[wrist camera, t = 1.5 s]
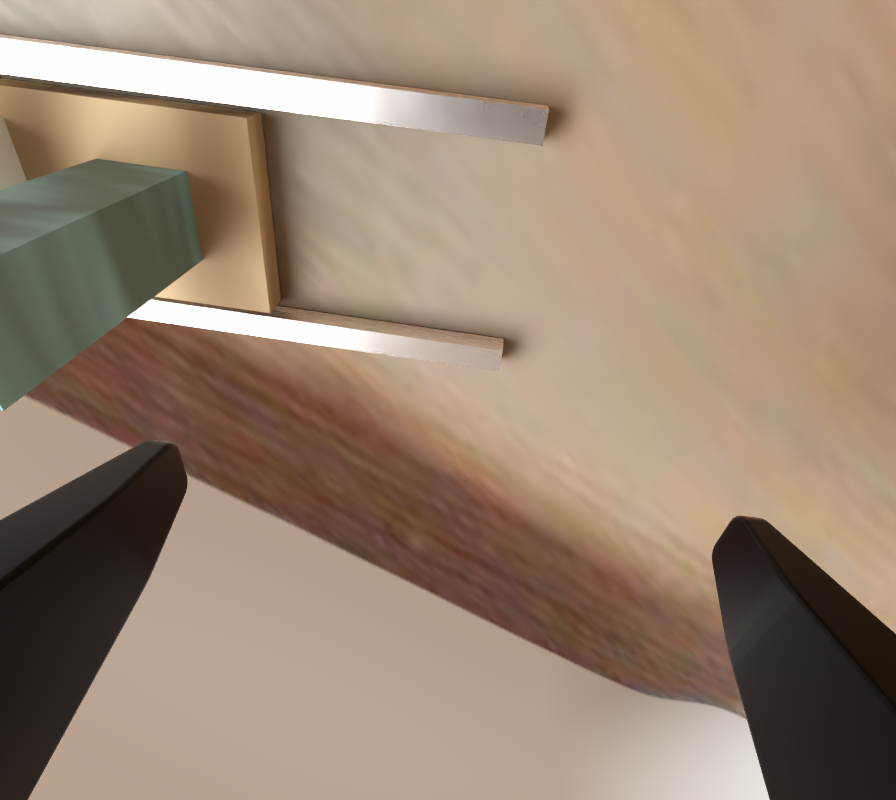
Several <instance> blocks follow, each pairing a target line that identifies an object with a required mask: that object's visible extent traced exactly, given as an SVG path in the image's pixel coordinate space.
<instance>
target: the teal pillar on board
mask: <svg viewBox="0 0 896 800" xmlns="http://www.w3.org/2000/svg"><path fill="white" fill-rule="evenodd" d="M0 117H1V118H4V121H5V123H6V126H7V129H8V131H9V134H10V137H11V140H12V142H13V145H14V148H15V150H16V153H17V156H18V158H19V161H20V164H21V166H22V169H23V172H24V174H25V177H26V180H27V181H26V182H23V183H20V184H17V185H14V186H11V187H7V188H4V189H1V190H0V410H1V411H4V410H5V409H7V408H8V407H9V406H10V405H12V404H13V403H15V402H16V401H17V400H19V399H20V398H21V397H23V396H24V395H25V394H26V393H28V392H29V391H30V390H32V389H33V388H34V387H36V386H37V385H38V384H40V383H41V382H42V381H44V380H45V379H46V378H48V377H49V376H50V375H52V374H53V373H54V372H56V371H57V370H58V369H60V368H61V367H62V366H64V365H65V364H66V363H67V362H69V361H70V360H71V359H73V358H74V357H75V356H77V355H78V354H79V353H81V352H82V351H83V350H85V349H86V348H87V347H89V346H90V345H91V344H93V343H94V342H95V341H97V340H98V339H99V338H101V337H102V336H103V335H104V334H106V333H107V332H108V331H110V330H111V329H112V328H114V327H115V326H116V325H118V324H119V323H120V322H122V321H123V320H124V319H126V318H127V317H128V316H130V315H131V314H132V313H134V312H135V311H136V310H138V309H139V308H140V307H141V306H143V305H144V304H145V303H147V302H148V301H149V300H151V299H152V298H153V297H161V298H168V299H175V300H182V301H189V302H196V303H203V304H210V305H217V306H224V307H231V308H237V309H244V310H251V311H258V312H265V313H271V312H272V310H273V309H274V308H275V307H276V306H277V305H278V303H279V302H280V301H281V294H280V285H279V275H278V266H277V256H276V247H275V237H274V227H273V218H272V208H271V199H270V189H269V180H268V170H267V161H266V151H265V141H264V132H263V122H262V113H260V112H252V111H245V110H237V109H230V108H222V107H215V106H207V105H200V104H192V103H185V102H177V101H170V100H162V99H154V98H147V97H139V96H132V95H124V94H117V93H109V92H102V91H94V90H87V89H79V88H72V87H64V86H57V85H49V84H42V83H34V82H26V81H19V80H11V79H4V78H0Z"/></svg>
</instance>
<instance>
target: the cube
mask: <svg viewBox="0 0 896 800" xmlns="http://www.w3.org/2000/svg"><path fill="white" fill-rule="evenodd" d="M26 181H27V180H26V177H25V174H24V172H23V169H22V166H21V164H20V161H19V158H18V156H17V153H16V150H15V148H14V145H13V142H12V140H11V137H10V134H9V131H8V129H7V126H6V123H5V121H4V118H1V117H0V190H1V189H4V188H7V187H11V186H14V185H17V184H20V183H23V182H26Z"/></svg>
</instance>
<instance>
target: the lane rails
mask: <svg viewBox="0 0 896 800" xmlns="http://www.w3.org/2000/svg"><path fill="white" fill-rule="evenodd" d="M0 74H5V75H13V76H21V77H28V78H36V79H43V80H51V81H58V82H66V83H73V84H81V85H88V86H96V87H104V88H111V89H119V90H126V91H134V92H141V93H149V94H156V95H164V96H171V97H179V98H187V99H194V100H202V101H209V102H217V103H224V104H232V105H239V106H247V107H254V108H262V109H269V110H277V111H285V112H292V113H300V114H307V115H315V116H322V117H330V118H337V119H345V120H352V121H360V122H368V123H375V124H383V125H390V126H398V127H405V128H413V129H420V130H428V131H435V132H443V133H451V134H458V135H466V136H473V137H481V138H488V139H496V140H503V141H511V142H518V143H526V144H534V145H541V146H542V145H543V140H544V135H545V130H546V124H547V119H548V114H549V107H548V105H541V104H533V103H526V102H518V101H510V100H503V99H495V98H487V97H480V96H472V95H464V94H457V93H449V92H441V91H434V90H426V89H418V88H410V87H403V86H395V85H387V84H380V83H372V82H364V81H357V80H349V79H341V78H334V77H326V76H318V75H311V74H303V73H295V72H288V71H280V70H272V69H265V68H257V67H249V66H241V65H234V64H226V63H218V62H211V61H203V60H195V59H188V58H180V57H172V56H165V55H157V54H149V53H142V52H134V51H126V50H119V49H111V48H103V47H96V46H88V45H80V44H72V43H65V42H57V41H49V40H42V39H34V38H26V37H19V36H11V35H3V34H0ZM128 317H130V318H137V319H144V320H151V321H158V322H164V323H171V324H178V325H185V326H192V327H199V328H206V329H212V330H219V331H226V332H233V333H240V334H247V335H253V336H260V337H267V338H274V339H281V340H288V341H294V342H301V343H308V344H315V345H322V346H329V347H336V348H342V349H349V350H356V351H363V352H370V353H377V354H383V355H390V356H397V357H404V358H411V359H418V360H425V361H431V362H438V363H445V364H452V365H459V366H466V367H472V368H479V369H486V370H493V371H499V369H500V364H501V358H502V353H503V340H504V339H503V338H496V337H489V336H482V335H475V334H468V333H461V332H454V331H447V330H440V329H433V328H426V327H419V326H412V325H405V324H398V323H392V322H385V321H378V320H371V319H364V318H357V317H350V316H343V315H336V314H329V313H322V312H315V311H308V310H301V309H294V308H287V307H281V306H276V307H275V308H274V309H273V310H272V312H271V313H265V312H258V311H251V310H244V309H237V308H231V307H224V306H217V305H210V304H203V303H196V302H189V301H182V300H175V299H168V298H161V297H153V298H152V299H151V300H149V301H148V302H147V303H145V304H144V305H143V306H141V307H140V308H139V309H138V310H136V311H135V312H134V313H132V314H131V315H130V316H128Z"/></svg>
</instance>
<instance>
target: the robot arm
mask: <svg viewBox="0 0 896 800" xmlns="http://www.w3.org/2000/svg"><path fill="white" fill-rule="evenodd" d="M186 489H187V475H186V472H185V469H184V465H183V462H182V458H181V455H180V452H179V449H178V447H177V446H176V445H175V444H174V443H172V442H165V441H157V440H148V441H145V442H143V443H141V444H139V445H137V446H135V447H133V448H132V449H130V450H128V451H126V452H124V453H122V454H121V455H119V456H117V457H115V458H113V459H112V460H110V461H108V462H106V463H104V464H102V465H101V466H99V467H97V468H95V469H93V470H91V471H89V472H87V473H86V474H84V475H82V476H80V477H78V478H76V479H75V480H73V481H71V482H69V483H67V484H65V485H64V486H62V487H60V488H58V489H56V490H54V491H53V492H51V493H49V494H47V495H46V496H43V497H41V498H40V499H38V500H36V501H34V502H32V503H31V504H29V505H27V506H25V507H23V508H21V509H19V510H18V511H16V512H14V513H12V514H10V515H8V516H6V517H5V518H3V519H1V520H0V800H28V798H29V797H30V795H31V793H32V791H33V789H34V787H35V785H36V784H37V782H38V780H39V778H40V776H41V775H42V773H43V771H44V769H45V767H46V766H47V764H48V762H49V760H50V758H51V757H52V755H53V753H54V751H55V749H56V747H57V746H58V744H59V742H60V740H61V738H62V737H63V734H64V733H65V731H66V729H67V727H68V726H69V724H70V722H71V720H72V718H73V716H74V715H75V713H76V711H77V709H78V708H79V705H80V704H81V702H82V700H83V699H84V697H85V695H86V693H87V691H88V689H89V688H90V686H91V684H92V682H93V680H94V679H95V677H96V675H97V673H98V671H99V669H100V668H101V666H102V664H103V662H104V660H105V659H106V657H107V655H108V653H109V651H110V649H111V648H112V646H113V644H114V642H115V640H116V638H117V636H118V635H119V633H120V631H121V630H122V628H123V626H124V624H125V622H126V620H127V619H128V617H129V615H130V613H131V611H132V610H133V608H134V606H135V604H136V602H137V601H138V599H139V597H140V595H141V593H142V591H143V589H144V588H145V585H146V584H147V581H148V580H149V578H150V576H151V574H152V571H153V569H154V567H155V564H156V562H157V560H158V557H159V555H160V553H161V551H162V548H163V546H164V543H165V541H166V539H167V536H168V533H169V531H170V529H171V527H172V524H173V522H174V519H175V517H176V515H177V512H178V510H179V507H180V505H181V502H182V500H183V498H184V495H185V493H186ZM712 562H713V568H714V574H715V580H716V586H717V592H718V597H719V603H720V609H721V615H722V621H723V627H724V632H725V638H726V643H727V648H728V653H729V657H730V660H731V664H732V668H733V672H734V675H735V679H736V682H737V686H738V689H739V693H740V696H741V700H742V703H743V707H744V711H745V714H746V718H747V721H748V724H749V728H750V732H751V735H752V739H753V742H754V746H755V749H756V753H757V756H758V760H759V763H760V767H761V770H762V774H763V777H764V781H765V784H766V788H767V791H768V795H769V799H770V800H896V634H895V633H894V632H893V631H892V630H890V629H889V628H888V627H887V626H886V625H885V624H884V623H882V622H881V621H880V620H879V619H878V618H877V617H876V616H875V615H873V614H872V613H871V612H870V611H869V610H868V609H867V608H865V607H864V606H863V605H862V604H861V603H860V602H859V601H857V600H856V599H855V598H854V597H853V596H852V595H851V594H849V593H848V592H847V591H846V590H845V589H844V588H843V587H842V586H840V585H839V584H838V583H837V582H836V581H835V580H834V579H832V578H831V577H830V576H829V575H828V574H827V573H826V572H824V571H823V570H822V569H821V568H820V567H819V566H818V565H816V564H815V563H814V562H813V561H812V560H811V559H810V558H808V557H807V556H806V555H805V554H804V553H803V552H802V551H801V550H799V549H798V548H797V547H796V546H795V545H794V544H793V543H791V542H790V541H789V540H788V539H787V538H786V537H785V536H783V535H782V534H781V533H780V532H779V531H778V530H777V529H775V528H774V527H773V526H772V525H771V524H770V523H769V522H767V521H766V520H764V519H761V518H755V517H748V516H736V517H735V518H733V519H732V520H731V521H730V523H729V524H728V526H727V527H726V529H725V530H724V532H723V533H722V535H721V536H720V538H719V540H718V541H717V543H716V544H715V546H714V549H713V553H712Z"/></svg>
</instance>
